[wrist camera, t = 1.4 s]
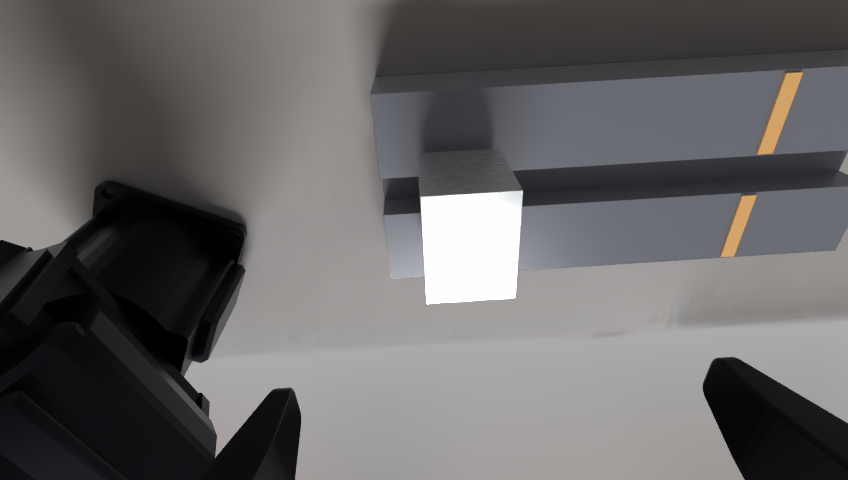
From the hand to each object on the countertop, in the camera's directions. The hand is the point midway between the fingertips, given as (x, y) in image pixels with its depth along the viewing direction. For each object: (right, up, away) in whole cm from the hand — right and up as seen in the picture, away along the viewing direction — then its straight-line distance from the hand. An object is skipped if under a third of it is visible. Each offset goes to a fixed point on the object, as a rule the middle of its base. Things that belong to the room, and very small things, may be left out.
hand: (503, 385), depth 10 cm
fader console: (+6, +7, +11) cm, 14 cm away
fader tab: (0, +6, +9) cm, 11 cm away
